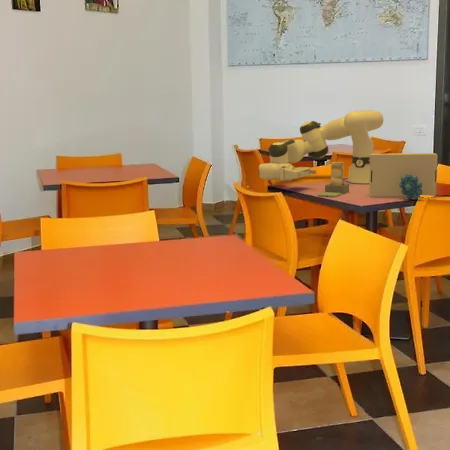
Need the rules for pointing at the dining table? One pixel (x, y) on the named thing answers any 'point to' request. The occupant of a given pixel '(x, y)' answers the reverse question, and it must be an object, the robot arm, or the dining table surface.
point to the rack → (337, 188)
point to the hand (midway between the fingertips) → (312, 173)
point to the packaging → (401, 173)
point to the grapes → (410, 186)
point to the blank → (337, 173)
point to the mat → (329, 194)
